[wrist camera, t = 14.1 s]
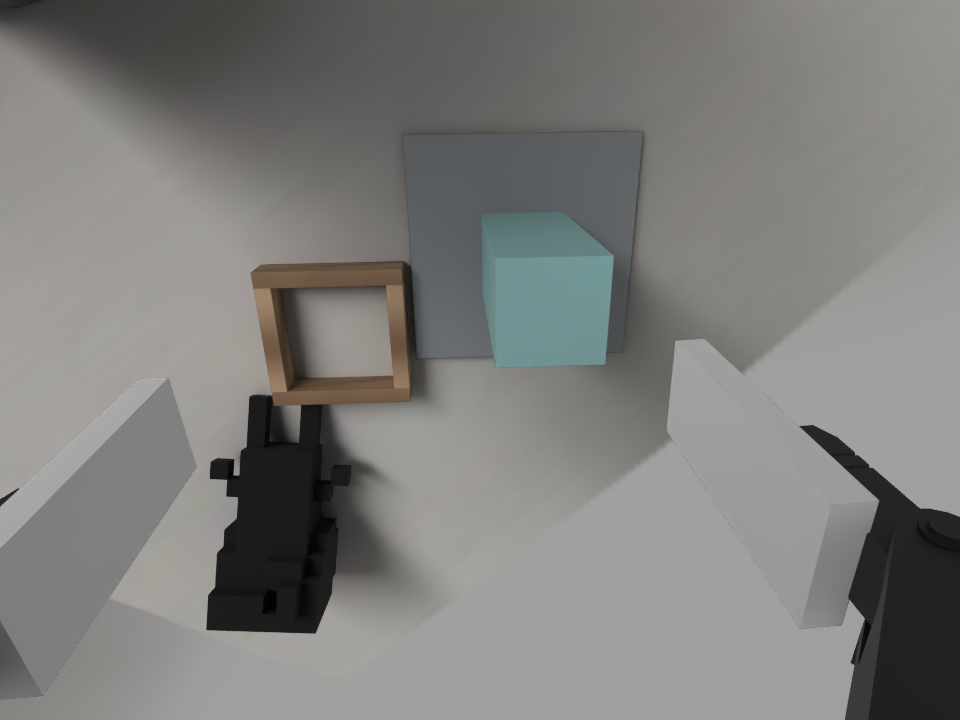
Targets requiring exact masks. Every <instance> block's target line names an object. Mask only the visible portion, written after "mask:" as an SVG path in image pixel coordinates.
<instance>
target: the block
mask: <svg viewBox="0 0 960 720" xmlns="http://www.w3.org/2000/svg"><path fill="white" fill-rule="evenodd" d="M613 261H614V255H613V254H611V253H610V252H609V251H608V250H607V249H606V248H604V247H603V246H602V245H601V244H600V243H599V242H597V241H596V240H595V239H594V238H593V237H592V236H590V235H589V234H588V233H587V232H586V231H585V230H583V229H582V228H581V227H580V226H579V225H578V224H576V223H575V222H574V221H573V220H572V219H571V218H569V217H568V216H567V215H566V214H565V213H564V212H531V213H483V214H482V293H483V298H484V304H485V310H486V315H487V321H488V327H489V333H490V338H491V344H492V350H493V355H494V361H495V367H496V368H510V367H542V366H575V365H605V362H606V349H607V337H608V324H609V312H610V299H611V287H612V274H613Z"/></svg>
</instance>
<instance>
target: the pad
mask: <svg viewBox="0 0 960 720" xmlns="http://www.w3.org/2000/svg"><path fill="white" fill-rule="evenodd" d="M642 137H643V131H619V132H554V133H490V134H426V135H403V141H404V157H405V173H406V189H407V205H408V222H409V238H410V254H411V270H412V286H413V303H414V319H415V335H416V351H417V358H450V357H484V356H494V355H493V350H492V344H491V338H490V333H489V327H488V321H487V315H486V310H485V304H484V298H483V293H482V214H483V213H531V212H564V213H565V214H566V215H567V216H568V217H569V218H571V219H572V220H573V221H574V222H575V223H576V224H578V225H579V226H580V227H581V228H582V229H583V230H585V231H586V232H587V233H588V234H589V235H590V236H592V237H593V238H594V239H595V240H596V241H597V242H599V243H600V244H601V245H602V246H603V247H604V248H606V249H607V250H608V251H609V252H610V253H611V254H613V255H614V261H613V274H612V287H611V299H610V312H609V324H608V337H607V349H606V353H617V352H623V343H624V333H625V322H626V311H627V300H628V289H629V278H630V267H631V257H632V246H633V235H634V224H635V213H636V202H637V192H638V181H639V170H640V159H641V148H642Z"/></svg>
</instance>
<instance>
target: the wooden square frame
mask: <svg viewBox="0 0 960 720" xmlns="http://www.w3.org/2000/svg"><path fill="white" fill-rule="evenodd" d="M251 277H252V283H253V289H254V295H255V300H256V306H257V312H258V317H259V323H260V329H261V335H262V340H263V346H264V352H265V357H266V363H267V369H268V375H269V380H270V386H271V392H272V397H273V403H274V406H284V405H314V404H345V403H375V402H406V401H411V394H412V376H411V361H410V346H409V331H408V316H407V301H406V286H405V271H404V261H395V262H353V263H311V264H269V265H260V266H259V267H257V268H256V269H255V270H253V271H252V272H251ZM384 285H386V292H387V304H388V317H389V329H390V342H391V354H392V366H393V376H371V377H339V378H307V379H295V377H294V371H293V364H292V358H291V352H290V345H289V339H288V332H287V326H286V319H285V313H284V307H283V300H282V294H281V288H305V287H344V286H384Z"/></svg>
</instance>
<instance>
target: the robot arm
mask: <svg viewBox="0 0 960 720" xmlns="http://www.w3.org/2000/svg"><path fill="white" fill-rule="evenodd" d="M36 1H38V0H0V9H6V8H13V7H19V6H23V5H27V4H30V3H33V2H36ZM667 432H668V433H669V435H670V436H671V438H672V439H673V441H674V442H675V444H676V445H677V447H678V448H679V450H680V451H681V453H682V454H683V456H684V457H685V459H686V460H687V462H688V463H689V465H690V466H691V468H692V469H693V471H694V472H695V474H696V475H697V477H698V478H699V480H700V481H701V483H702V484H703V486H704V487H705V489H706V490H707V491H708V493H709V495H710V496H711V498H712V499H713V501H714V502H715V504H716V505H717V507H718V508H719V510H720V511H721V512H722V514H723V515H724V517H725V519H726V520H727V521H728V523H729V524H730V526H731V527H732V529H733V530H734V532H735V533H736V535H737V536H738V538H739V539H740V541H741V542H742V544H743V545H744V547H745V548H746V550H747V551H748V552H749V554H750V556H751V557H752V559H753V560H754V562H755V563H756V565H757V566H758V568H759V569H760V571H761V572H762V574H763V575H764V577H765V578H766V580H767V581H768V583H769V584H770V586H771V587H772V589H773V590H774V592H775V593H776V595H777V596H778V597H779V599H780V600H781V602H782V604H783V605H784V606H785V608H786V610H787V611H788V613H789V614H790V616H791V617H792V619H793V620H794V622H795V623H796V625H797V626H798V627H799V629H806V628H817V627H829V626H840V625H842V623H843V620H844V617H845V613H846V610H847V606H848V603H849V600H850V601H851V602H852V603H853V604H854V606H855V607H856V608H857V609H858V611H859V612H860V613H861V614H862V615H863V616H864V618H865V620H864V623H863V626H862V629H861V632H860V635H859V639H858V642H857V645H856V648H855V651H854V654H853V657H852V660H851V663H852V664H854V665H855V666H854V671H853V677H852V682H851V688H850V694H849V700H848V705H847V711H846V717H845V720H960V517H958V516H956V515H953V514H950V513H947V512H943V511H938V510H933V509H920V508H919V507H917V506H916V505H915V504H914V503H913V502H912V501H910V500H909V499H908V498H907V497H906V496H905V495H903V494H902V493H901V492H900V491H899V490H898V489H897V488H895V487H894V486H893V485H892V484H891V483H890V482H888V481H887V480H886V479H885V478H884V477H883V476H882V475H880V474H879V473H878V472H877V471H876V470H875V469H873V468H869V464H867V463H866V462H865V461H864V460H863V459H862V458H861V457H859V456H858V455H856V456H855V452H854V451H853V450H851V449H850V448H849V447H848V446H847V445H845V444H844V443H843V442H842V441H841V440H840V439H839V438H837V437H836V436H833V435H832V434H829V433H828V432H826V431H823V430H821V429H820V428H818V427H815V426H814V425H809V426H798V425H797V424H796V423H795V422H794V421H793V420H792V419H790V418H789V417H788V416H787V415H786V414H785V413H784V412H783V411H782V410H781V409H780V408H779V407H777V406H776V405H775V404H774V403H773V402H772V401H771V400H770V399H769V398H768V397H767V396H765V395H764V394H763V393H762V392H761V391H760V390H759V389H758V388H757V387H756V386H755V385H754V384H753V383H751V382H750V381H749V380H748V379H747V378H746V377H745V376H744V375H743V374H742V373H741V372H740V371H739V370H737V369H736V368H735V367H734V366H733V365H732V364H731V363H730V362H729V361H728V360H727V359H726V358H725V357H723V356H722V355H721V354H720V353H719V352H718V351H717V350H716V349H715V348H714V347H713V346H712V345H710V344H709V343H708V342H707V341H706V340H705V339H693V340H679V341H675V350H674V360H673V370H672V381H671V391H670V401H669V411H668V421H667ZM196 467H197V466H196V463H195V460H194V457H193V454H192V451H191V447H190V444H189V441H188V438H187V435H186V432H185V428H184V425H183V422H182V419H181V416H180V413H179V410H178V406H177V403H176V400H175V397H174V394H173V391H172V387H171V384H170V381H169V378H156V379H143V380H137V381H136V382H135V383H134V384H133V385H132V386H131V387H130V388H129V389H127V390H126V391H125V392H124V393H123V394H122V395H121V396H120V397H119V398H118V399H117V400H116V401H114V402H113V403H112V404H111V405H110V406H109V407H108V408H107V409H106V410H105V411H104V412H103V413H101V414H100V415H99V416H98V417H97V418H96V419H95V420H94V421H93V422H92V423H91V424H90V425H88V426H87V427H86V428H85V429H84V430H83V431H82V432H81V433H80V434H79V435H78V436H77V437H75V438H74V439H73V440H72V441H71V442H70V443H69V444H68V445H67V446H66V447H65V448H63V449H62V450H61V451H60V452H59V453H58V454H57V455H56V456H55V457H54V458H53V459H52V460H50V461H49V462H48V463H47V464H46V465H45V466H44V467H43V468H42V469H41V470H40V471H39V472H37V473H36V474H35V475H34V476H33V477H32V478H31V479H30V480H29V481H28V482H27V483H26V484H24V485H23V486H22V487H21V488H20V489H16V490H15V491H13V492H11V493H10V494H8V495H6V496H5V497H3V498H1V499H0V700H4V699H16V698H26V697H38V696H44V694H45V693H46V691H47V690H48V688H49V687H50V685H51V684H52V682H53V680H54V679H55V678H56V676H57V675H58V673H59V672H60V670H61V669H62V667H63V666H64V664H65V663H66V661H67V660H68V658H69V657H70V655H71V654H72V652H73V651H74V649H75V648H76V646H77V645H78V643H79V642H80V640H81V639H82V637H83V636H84V634H85V633H86V631H87V630H88V628H89V627H90V626H91V624H92V623H93V621H94V619H95V618H96V617H97V615H98V613H99V612H100V610H101V609H102V608H103V606H104V605H105V603H106V602H107V600H108V599H109V597H110V596H111V594H112V593H113V591H114V590H115V588H116V587H117V585H118V584H119V582H120V581H121V579H122V578H123V576H124V575H125V573H126V572H127V570H128V569H129V567H130V566H131V564H132V563H133V561H134V560H135V558H136V557H137V555H138V554H139V552H140V551H141V549H142V548H143V546H144V545H145V543H146V542H147V540H148V539H149V537H150V536H151V534H152V533H153V531H154V530H155V528H156V527H157V525H158V524H159V522H160V521H161V519H162V518H163V517H164V515H165V514H166V512H167V511H168V509H169V508H170V506H171V505H172V503H173V502H174V500H175V499H176V497H177V496H178V494H179V493H180V491H181V490H182V488H183V487H184V485H185V484H186V482H187V481H188V479H189V478H190V476H191V475H192V473H193V472H194V470H195V469H196Z"/></svg>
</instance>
